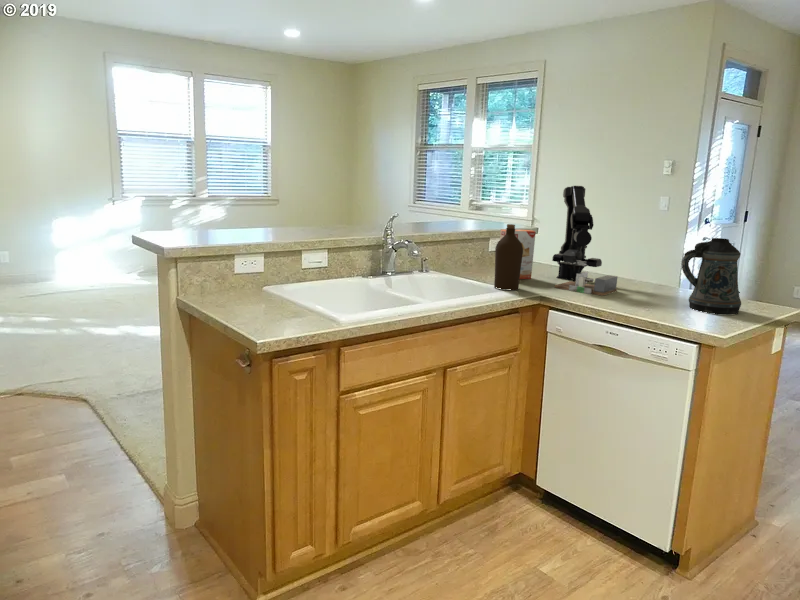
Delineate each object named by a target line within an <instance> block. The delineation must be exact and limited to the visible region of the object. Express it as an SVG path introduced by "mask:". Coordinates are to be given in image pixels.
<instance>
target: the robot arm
mask: <svg viewBox="0 0 800 600" xmlns="http://www.w3.org/2000/svg"><path fill="white" fill-rule="evenodd" d="M562 196H563V198H564V199H563V200H564V201H563V202H564V204H565V206H566V208H567V209H566V210H567V211H566V226H565V238H564V242H563V244H562V245H561V246H560V250H559V251H558V253H554V254H553V256H552V259H551V261H552V262H556V263H557V265H558V275H557V276H556V279H562V280H572V282H576V274H577V273H581V272H583V270H584V268H585V267H591V268H599V267H602V264H603V261H602V259H601V258H596V257H591V258H587V255H586V249H588V245H589V244H590V243H591V242H592V240H593V239H592V235H591V233H590V232H589V230H593V228H594V217H593V215H592V214H591V210H590V208H588V207H586V201H585V198H586V188H585V186H583V185H571V186H567V187H565V188H564V189H563V193H562Z"/></svg>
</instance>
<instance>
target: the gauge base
mask: <svg viewBox="0 0 800 600" xmlns="http://www.w3.org/2000/svg"><path fill="white" fill-rule="evenodd" d="M575 284H576V281H573V280H572V281H566V282H561V283H558V284H555V285H554V289H559V290H560V289H561V290H567V291H571V292H575V293H580V294H581V293H582V294H587V295H596V296H597V295H598V296H606V295H609V293H610V294H612V292H613V293H616V292H617V291H618V288H616V289H614V290H611V291H608V292H605V293H602V292H596V291H594V286H595V284H590V283H587V284H585V286H584V287H579V286H575ZM615 291H616V292H615Z"/></svg>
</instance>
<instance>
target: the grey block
mask: <svg viewBox="0 0 800 600" xmlns="http://www.w3.org/2000/svg"><path fill="white" fill-rule="evenodd" d="M588 273H589V272H588V271H581V273H577V274H576V281H575V282H576V284H575V286H579V278H580V277H585V284H588V283H593V282H595V278H593V277H588V276H589V275H588Z"/></svg>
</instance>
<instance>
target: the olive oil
mask: <svg viewBox="0 0 800 600" xmlns="http://www.w3.org/2000/svg"><path fill="white" fill-rule="evenodd" d="M505 230H506V235H505V236H504V237H503V238H502V239H501V240H500V239H499V240H498V241H497V243H496V246H495V248H494V249H495V251H494V252H495V253H494V254H495V255H494V257H495V258H494V260H495V261H494V282H493V285H494V287H493V288H495V287H497V288H501V289H511V290H510V291H518V290H519V286H520V279H519V278H520V270H521V263H522V255H523V246H522V244H521V242H520V241H519V240H518V238H517V237H516V236H515V230H516V224H511V223H509V224H506V228H505Z"/></svg>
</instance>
